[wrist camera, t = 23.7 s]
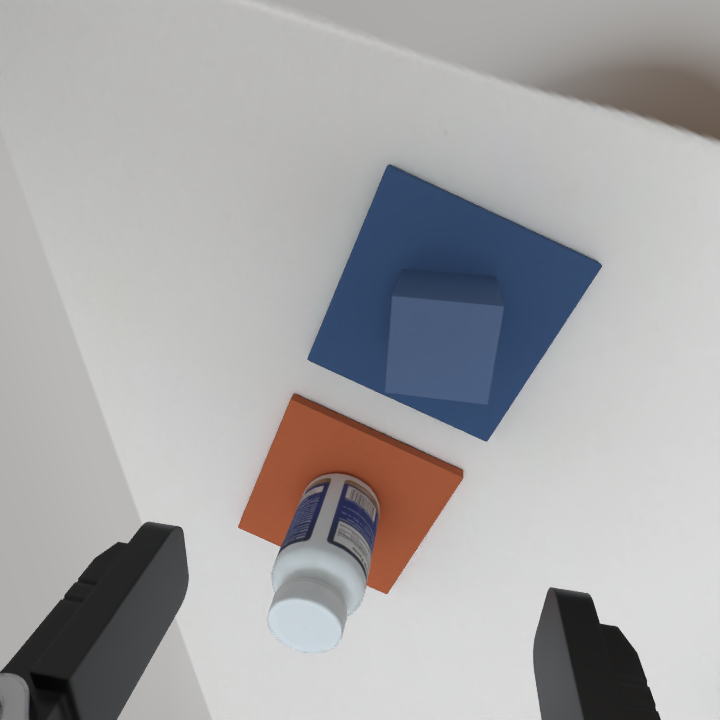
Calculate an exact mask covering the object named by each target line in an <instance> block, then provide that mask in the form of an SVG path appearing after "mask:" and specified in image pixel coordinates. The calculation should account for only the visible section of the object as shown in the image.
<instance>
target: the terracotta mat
mask: <svg viewBox="0 0 720 720" xmlns="http://www.w3.org/2000/svg"><path fill="white" fill-rule="evenodd" d="M335 473H338V474H345V475H349V476H353V477H355V478H358V479H359V480H361V481H362V482H364V483H365V484H366V485H368V486H369V487H370V488H371V489H372V491H373V492H374V493H375V495H376V497H377V499H378V502H379V507H380V514H379V521H378V527H377V532H376V537H375V542H374V548H373V553H372V558H371V564H370V569H369V574H368V580H367V584H366V585H367V586H369V587H372V588H374V589H376V590H378V591H381V592H383V593H385V594H388V592H389V590H390V589H391V587H392V586H393V584H394V583H395V581H396V580H397V578H398V577H399V575H400V574H401V572H402V571H403V569H404V568H405V566H406V565H407V563H408V561H409V560H410V558H411V557H412V555H413V554H414V552H415V551H416V549H417V548H418V546H419V545H420V543H421V542H422V540H423V539H424V537H425V536H426V534H427V532H428V531H429V529H430V528H431V526H432V525H433V523H434V522H435V520H436V519H437V517H438V516H439V514H440V513H441V511H442V510H443V508H444V507H445V505H446V503H447V502H448V500H449V499H450V497H451V496H452V494H453V493H454V491H455V490H456V488H457V487H458V485H459V484H460V482H461V481H462V479H463V470H461V469H459V468H456V467H454V466H452V465H450V464H448V463H445V462H443V461H441V460H439V459H437V458H434V457H432V456H430V455H428V454H426V453H423V452H421V451H419V450H417V449H415V448H412V447H410V446H408V445H406V444H404V443H402V442H399V441H397V440H395V439H393V438H391V437H388V436H386V435H384V434H382V433H380V432H377V431H375V430H373V429H371V428H369V427H366V426H364V425H362V424H360V423H358V422H355V421H353V420H351V419H349V418H347V417H344V416H342V415H340V414H338V413H336V412H333V411H331V410H329V409H327V408H325V407H322V406H320V405H318V404H316V403H314V402H311V401H309V400H307V399H305V398H303V397H300V396H298V395H296V394H294V395H293V397H292V398H291V400H290V402H289V405H288V407H287V410H286V412H285V414H284V417H283V419H282V422H281V424H280V427H279V429H278V431H277V434H276V436H275V439H274V441H273V443H272V446H271V448H270V451H269V453H268V456H267V458H266V460H265V463H264V465H263V468H262V470H261V473H260V475H259V477H258V480H257V482H256V485H255V487H254V489H253V492H252V494H251V497H250V499H249V502H248V504H247V506H246V509H245V511H244V514H243V516H242V518H241V521H240V523H239V526H238V528H240V529H243V530H245V531H247V532H249V533H251V534H254V535H256V536H258V537H260V538H263V539H265V540H267V541H269V542H271V543H274V544H276V545H278V546H280V547H281V546H282V543H283V541H284V539H285V536H286V534H287V531H288V529H289V527H290V524H291V522H292V519H293V517H294V515H295V512H296V510H297V507H298V505H299V503H300V500H301V498H302V495H303V493H304V491H305V489H306V488H307V486H308V485H309V484H310V483H311V482H312V481H313V480H315V479H316V478H318V477H320V476H323V475H327V474H335Z"/></svg>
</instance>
